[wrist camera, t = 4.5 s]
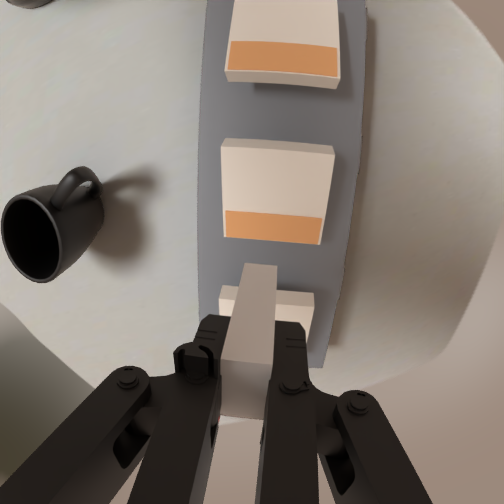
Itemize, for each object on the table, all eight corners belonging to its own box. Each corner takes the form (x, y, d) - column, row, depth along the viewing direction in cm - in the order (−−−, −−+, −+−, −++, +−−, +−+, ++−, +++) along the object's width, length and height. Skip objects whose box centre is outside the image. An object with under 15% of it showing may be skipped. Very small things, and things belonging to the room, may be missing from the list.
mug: (153, 192, 30) (104, 220, 21) (87, 259, 34) (38, 299, 25) (104, 132, 28) (44, 140, 19) (46, 206, 32) (-10, 233, 23)
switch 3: (224, 278, 25) (218, 299, 23) (313, 286, 25) (314, 307, 23) (226, 337, 29) (221, 358, 27) (301, 344, 29) (301, 365, 27)
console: (220, 0, 22) (208, -23, 17) (356, 9, 22) (370, -13, 17) (211, 328, 35) (199, 360, 30) (321, 338, 34) (325, 371, 29)
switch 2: (227, 134, 21) (220, 147, 19) (330, 141, 20) (335, 155, 19) (229, 218, 25) (223, 237, 24) (318, 225, 25) (320, 245, 23)
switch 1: (239, 11, 19) (235, -8, 17) (332, 17, 19) (337, -2, 16) (229, 86, 20) (224, 70, 17) (334, 94, 19) (340, 78, 17)
